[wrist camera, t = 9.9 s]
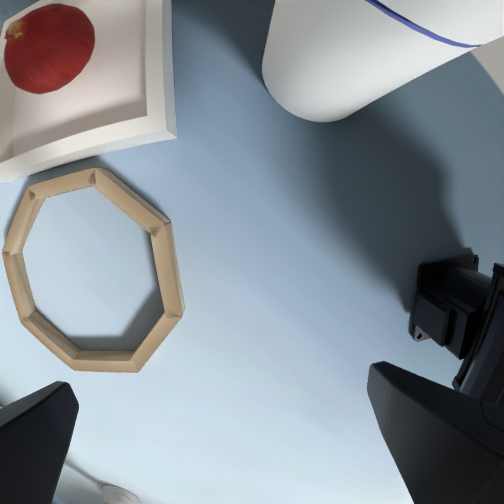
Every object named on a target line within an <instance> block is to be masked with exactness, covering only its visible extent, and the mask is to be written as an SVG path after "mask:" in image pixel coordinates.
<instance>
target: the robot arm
mask: <svg viewBox="0 0 504 504" xmlns="http://www.w3.org/2000/svg"><path fill="white" fill-rule="evenodd" d="M473 260H474V261H473ZM478 263H479V258H478V256H477V255H475V254H469V255H463V256H458V257H452V258H447V259H441V260H435V261H429V262H423V263H422V264H420V266H419V269H418V284H417V293H416V301H415V311H414V320H413V323H414V325H413V333H412V338H413V339H414V340H415V341H416V342H419V341H422V340H426V339H429V338H431V339H433V340H434V341H435V342H436V343H437V344H438V345H439V346H441V347H446V348H447V349H448V350H449V351H450V352H451V353H452V354H454V355H455V356H456V357H457V358H458V359H459V360H461V359H464V360H463V363H462V365H461V367H460V369H459V372H458V374H457V376H455V378H454V380H453V382H452V386H453V388H454V390H453V389H451V388H448V387H446V386H443V385H441V384H438V383H436V382H433V381H431V380H428V379H426V378H424V377H421V376H419V375H416V374H414V373H411V372H409V371H407V370H404V369H402V368H400V367H397V366H395V365H393V364H390V363H388V362H386V361H381V362H377V363H373V364H371V365H370V368H369V375H368V383H367V392H368V396H369V398H370V401H371V404H372V407H373V410H374V413H375V416H376V419H377V422H378V425H379V428H380V430H381V433H382V436H383V438H384V440H385V442H386V444H387V446H388V448H389V450H390V453H391V455H392V457H393V459H394V461H395V463H396V465H397V467H398V469H399V472H400V474H401V476H402V478H403V480H404V482H405V484H406V487H407V489H408V491H409V493H410V495H411V498H412V500H413V502H414V504H504V264H499V263H494V267H493V276H492V278H491V277H488V276H486V275H484V274H482V273H479V272H478ZM425 267H426V270H425V272H424V269H425ZM418 334H419V336H417V335H418ZM78 410H79V404H78V401H77V399H76V397H75V394H74V392H73V390H72V388H71V386H70V384H69V383H67V382H62V381H56V382H54V383H52V384H50V385H48V386H46V387H44V388H42V389H40V390H38V391H36V392H34V393H32V394H30V395H28V396H26V397H23V398H21V399H19V400H17V401H15V402H13V403H11V404H9V405H7V406H5V407H3V408H0V504H52V500H53V497H54V493H55V490H56V486H57V483H58V480H59V477H60V473H61V470H62V467H63V464H64V461H65V458H66V455H67V452H68V449H69V446H70V442H71V438H72V434H73V430H74V426H75V422H76V418H77V414H78Z"/></svg>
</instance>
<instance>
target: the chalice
mask: <svg viewBox="0 0 504 504" xmlns="http://www.w3.org/2000/svg"><path fill="white" fill-rule="evenodd" d="M102 491H103V497H104V502H105V504H138V503H139V499H138V498H137V497H136V496H135V495H134V494H132V493H131V492H129V491H127V490H125V489H123V488H120V487H117V486H113V485H104V486H103V487H102Z"/></svg>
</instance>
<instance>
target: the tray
mask: <svg viewBox="0 0 504 504" xmlns="http://www.w3.org/2000/svg"><path fill="white" fill-rule="evenodd" d="M57 3H60V4H65V5H69V6H74V7H77V8H79V9H80V10H82V11H83V12H84V13H85V14H86V15H87V17H88V18H89V19H90V21H91V23H92V25H93V26H94V32H95V46H94V50H93V52H92V55H91V58H90V60H89V62H88V63H87V65H86V66H85V67H84V69H83V70H82V72H81V73H80V74H79V75H78V76H76V77H75V78H74V79H73V80H72V81H71V82H70V83H69V84H67V85H65V86H64V87H62V88H60V89H59V90H56V91H53V92H48V93H44V94H40V95H39V94H33V93H30V92H27V91H24V90H21V89H20V88H18V87H16V86H15V85H14V84H13V82H12V81H11V79H10V77H9V75H8V73H7V71H6V69H5V63H4V49H5V45H6V41H7V39H4V37H5V31H6V29H7V27H8V26H9V24H10V23H11V22H13V21H15V20H17V19H19V18H22V17H23V16H25V15H26V14H27V13H29V12H30V11H32V10H35V9H37V8H40V7H43V6H46V5H50V4H57ZM177 138H178V135H177V123H176V110H175V95H174V78H173V56H172V11H171V0H40V1H38V2H36V3H34V4H32V5H31V6H29V7H27V8H26V9H24V10H22V11H21V12H19V13H17V14H16V15H14V16H13V17H11V18H9V19H8V20H6V21H5V22H4V25H3V28H2V32H1V36H0V182H13V181H16V180H18V179H21V178H24V177H27V176H29V175H32V174H35V173H38V172H41V171H44V170H48V169H51V168H54V167H57V166H60V165H64V164H67V163H71V162H74V161H78V160H81V159H85V158H89V157H92V156H96V155H100V154H104V153H108V152H112V151H117V150H121V149H126V148H130V147H135V146H140V145H145V144H150V143H155V142H160V141H166V140H172V139H177Z"/></svg>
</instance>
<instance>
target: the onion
mask: <svg viewBox="0 0 504 504" xmlns="http://www.w3.org/2000/svg"><path fill="white" fill-rule="evenodd" d="M4 39H7V41H6V45H5V49H4V63H5V69H6V71H7V73H8V75H9V77H10V79H11V81H12V82H13V84H14V85H15V86H16V87H18V88H20V89H21V90H24V91H27V92H30V93H33V94H39V95H40V94H44V93H48V92H53V91H56V90H59V89H60V88H62V87H64V86H65V85H67V84H69V83H70V82H71V81H72V80H73V79H74V78H75V77H76V76H78V75H79V74H80V73H81V72H82V70H83V69H84V67H85V66H86V65H87V63H88V62H89V60H90V58H91V55H92V52H93V50H94V46H95V32H94V26H93V25H92V23H91V21H90V19H89V18H88V17H87V15H86V14H85V13H84V12H83V11H82V10H80V9H79V8H77V7H74V6H69V5H65V4H60V3H57V4H50V5H46V6H43V7H40V8H37V9H35V10H32V11H30V12H29V13H27V14H26V15H25V16H23V17H22V18H19V19H17V20H15V21H13V22H11V23H10V24H9V26H8V27H7V29H6V31H5V37H4Z"/></svg>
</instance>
